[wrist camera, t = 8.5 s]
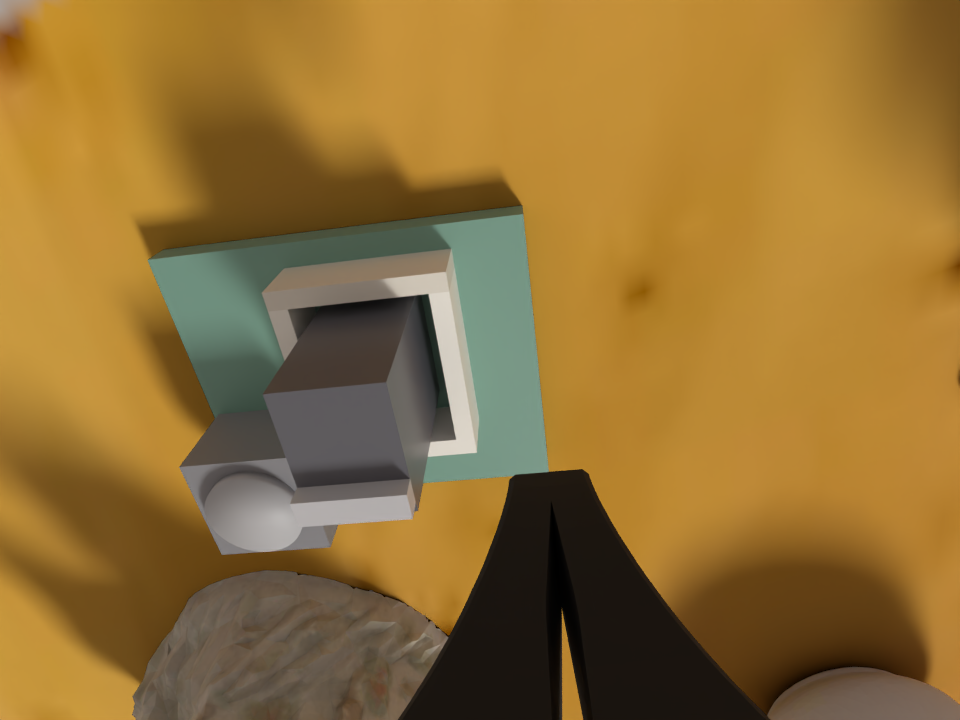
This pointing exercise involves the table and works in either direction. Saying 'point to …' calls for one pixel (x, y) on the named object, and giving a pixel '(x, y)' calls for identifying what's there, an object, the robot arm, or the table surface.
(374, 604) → the grey jagged lump
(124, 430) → the table surface
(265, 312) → the board
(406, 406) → the plug
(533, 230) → the table surface
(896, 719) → the teacup
